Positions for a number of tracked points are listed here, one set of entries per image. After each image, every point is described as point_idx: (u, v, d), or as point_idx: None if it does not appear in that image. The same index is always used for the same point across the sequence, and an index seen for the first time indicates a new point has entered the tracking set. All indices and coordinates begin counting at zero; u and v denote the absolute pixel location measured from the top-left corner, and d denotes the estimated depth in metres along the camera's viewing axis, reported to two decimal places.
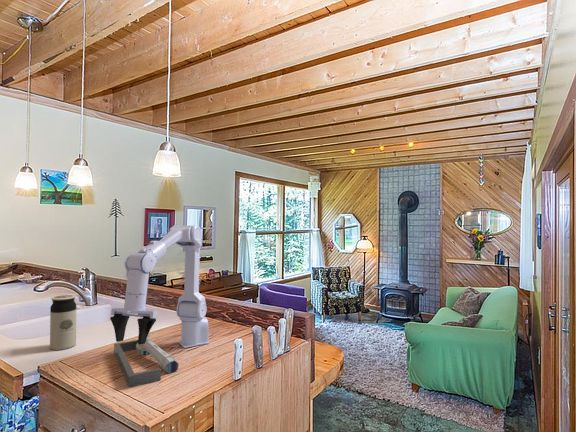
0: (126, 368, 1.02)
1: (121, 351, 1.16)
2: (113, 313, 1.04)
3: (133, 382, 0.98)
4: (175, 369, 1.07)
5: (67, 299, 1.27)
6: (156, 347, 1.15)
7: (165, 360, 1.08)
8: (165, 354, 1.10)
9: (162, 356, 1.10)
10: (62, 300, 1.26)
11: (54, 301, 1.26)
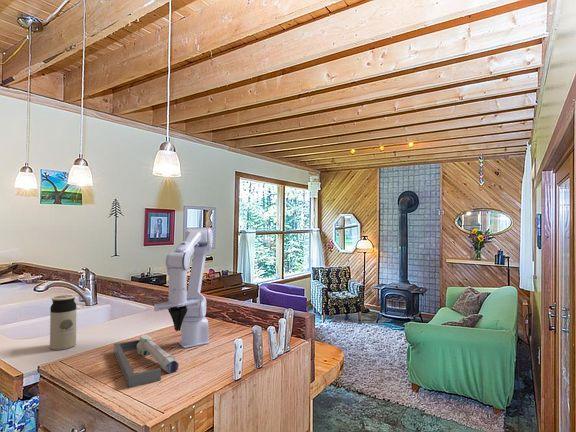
0: (126, 368, 1.02)
1: (121, 351, 1.16)
2: (158, 309, 1.13)
3: (133, 382, 0.98)
4: (175, 369, 1.07)
5: (67, 299, 1.27)
6: (156, 347, 1.15)
7: (165, 360, 1.08)
8: (165, 354, 1.10)
9: (162, 356, 1.09)
10: (62, 300, 1.26)
11: (54, 301, 1.26)
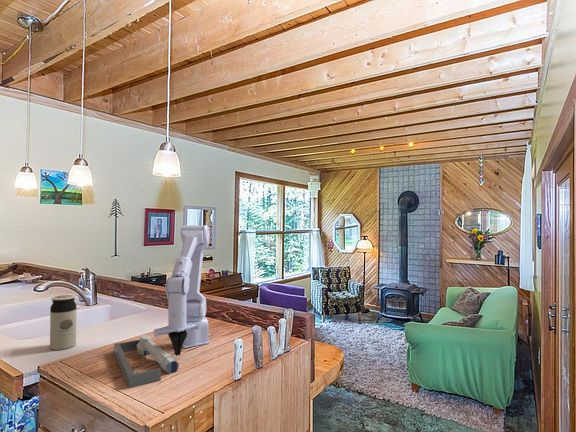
0: (126, 368, 1.02)
1: (121, 351, 1.16)
2: (157, 335, 1.13)
3: (133, 382, 0.98)
4: (175, 369, 1.07)
5: (67, 299, 1.27)
6: (156, 347, 1.15)
7: (165, 360, 1.08)
8: (165, 354, 1.10)
9: (162, 356, 1.09)
10: (62, 300, 1.26)
11: (54, 301, 1.26)
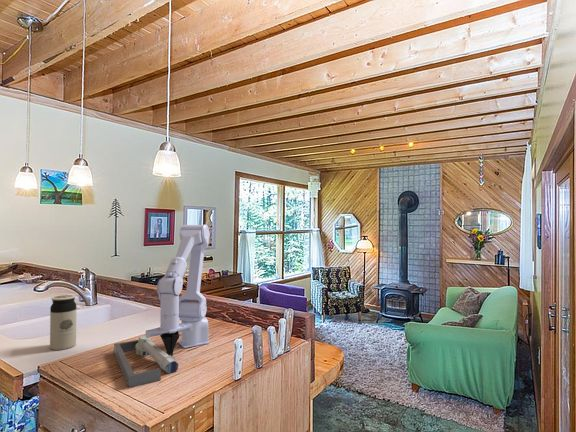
0: (126, 368, 1.02)
1: (121, 351, 1.16)
2: (149, 336, 1.12)
3: (133, 382, 0.98)
4: (175, 369, 1.07)
5: (67, 299, 1.27)
6: (156, 347, 1.15)
7: (165, 360, 1.07)
8: (165, 354, 1.10)
9: (162, 356, 1.09)
10: (62, 300, 1.26)
11: (54, 301, 1.26)
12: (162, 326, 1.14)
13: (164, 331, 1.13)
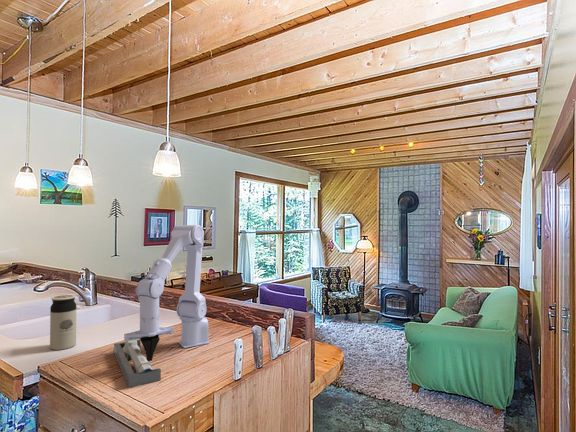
0: (126, 368, 1.02)
1: (121, 351, 1.16)
2: (128, 340, 1.09)
3: (133, 382, 0.98)
4: None
5: (67, 299, 1.27)
6: (137, 352, 1.10)
7: (140, 367, 1.02)
8: (142, 360, 1.05)
9: (139, 362, 1.04)
10: (62, 300, 1.26)
11: (54, 301, 1.26)
12: (141, 329, 1.10)
13: (143, 334, 1.10)
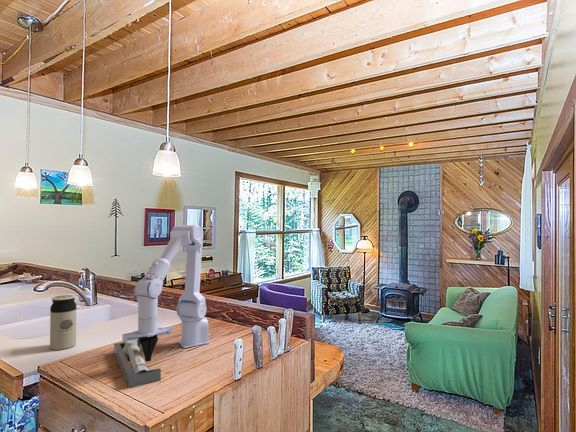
0: (126, 368, 1.02)
1: (121, 351, 1.16)
2: (126, 340, 1.08)
3: (133, 382, 0.98)
4: None
5: (67, 299, 1.27)
6: (135, 353, 1.10)
7: (136, 368, 1.02)
8: (139, 361, 1.05)
9: (135, 363, 1.04)
10: (62, 300, 1.26)
11: (54, 301, 1.26)
12: (140, 330, 1.10)
13: (141, 335, 1.09)
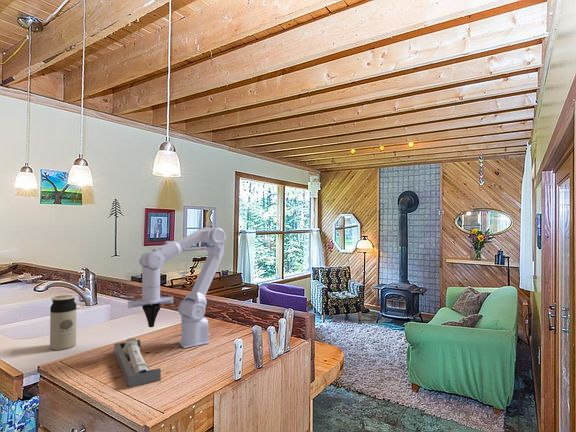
0: (126, 368, 1.02)
1: (121, 351, 1.16)
2: (131, 306, 1.17)
3: (133, 382, 0.98)
4: None
5: (67, 299, 1.27)
6: (135, 353, 1.10)
7: (137, 368, 1.02)
8: (139, 361, 1.05)
9: (136, 363, 1.04)
10: (62, 300, 1.26)
11: (54, 301, 1.26)
12: (144, 297, 1.19)
13: (145, 302, 1.18)
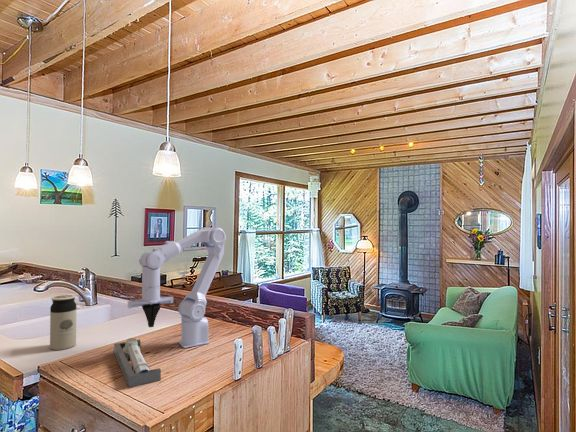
0: (126, 368, 1.02)
1: (121, 351, 1.16)
2: (131, 306, 1.17)
3: (133, 382, 0.98)
4: None
5: (67, 299, 1.27)
6: (136, 353, 1.10)
7: (138, 367, 1.02)
8: (140, 361, 1.05)
9: (136, 363, 1.04)
10: (62, 300, 1.26)
11: (54, 301, 1.26)
12: (143, 297, 1.19)
13: (145, 302, 1.19)
